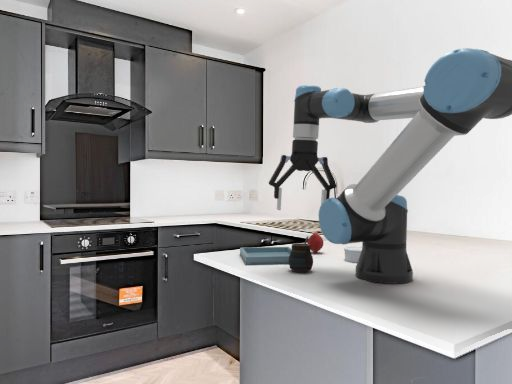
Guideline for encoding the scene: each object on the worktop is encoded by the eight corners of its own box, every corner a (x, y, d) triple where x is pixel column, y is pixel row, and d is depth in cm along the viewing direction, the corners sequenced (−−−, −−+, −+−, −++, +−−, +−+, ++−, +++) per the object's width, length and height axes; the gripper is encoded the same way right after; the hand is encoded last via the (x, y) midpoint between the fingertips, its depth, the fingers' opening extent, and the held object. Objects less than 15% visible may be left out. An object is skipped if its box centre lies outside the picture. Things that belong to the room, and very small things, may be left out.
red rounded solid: (318, 255, 142) (318, 232, 142) (304, 253, 146) (304, 231, 145) (325, 252, 147) (326, 231, 146) (312, 251, 150) (312, 230, 150)
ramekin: (372, 264, 128) (372, 250, 127) (343, 262, 129) (344, 249, 129) (369, 259, 136) (370, 246, 136) (343, 257, 138) (343, 245, 138)
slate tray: (301, 263, 127) (301, 255, 127) (246, 265, 124) (246, 257, 124) (288, 253, 145) (288, 246, 145) (240, 254, 142) (240, 247, 142)
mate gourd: (284, 272, 115) (284, 238, 115) (294, 267, 121) (294, 235, 121) (307, 275, 111) (308, 239, 111) (316, 270, 118) (316, 236, 118)
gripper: (342, 142, 122) (337, 210, 124) (262, 137, 120) (258, 207, 122) (350, 141, 115) (345, 213, 117) (265, 136, 112) (261, 210, 114)
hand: (300, 210), depth 119 cm, fingers open, 13 cm apart
